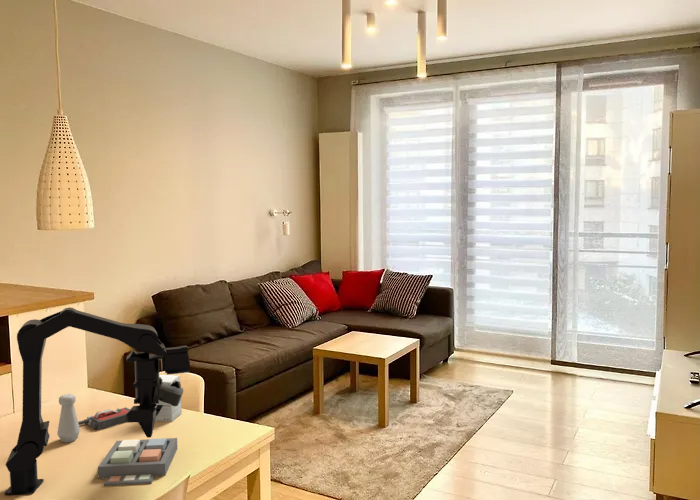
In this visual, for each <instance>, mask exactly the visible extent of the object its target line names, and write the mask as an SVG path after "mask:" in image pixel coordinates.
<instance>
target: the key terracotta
mask: <svg viewBox="0 0 700 500" xmlns="http://www.w3.org/2000/svg"><path fill="white" fill-rule="evenodd" d="M160 458H161V449H149V450H143V452H142V453H141V455H140V457H139V462H155V461H159V460H160Z"/></svg>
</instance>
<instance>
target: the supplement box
mask: <svg viewBox="0 0 700 500" xmlns="http://www.w3.org/2000/svg"><path fill="white" fill-rule="evenodd" d="M159 377H161V379H162V383H163V384H166V385H168V384H169V385H171V384H172V383H173V382H174V381H175V380H176V381H179V382H180V383H181V375H179V374H169V375H167V374H159ZM157 405H163V407H162V409H161V410H160V412H159V414H158V415H157V416H156V418H155V422H156V421H157V422H173V421H174V420H176V419H177V418H178V417H179V416H181V415H182V399H181V400H180V402H179V404H178V406H172V405H171V404H168V403H165V402H162V401H160V400H159V404H157Z"/></svg>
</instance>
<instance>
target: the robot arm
mask: <svg viewBox="0 0 700 500" xmlns="http://www.w3.org/2000/svg"><path fill="white" fill-rule="evenodd" d="M67 328H74V329H78V330H82V331H84V332H85V331H86V332H88V333H92V334H96V335H98V336H99V335H100V336H103V337H107V338H110V339H113V340H117V341H119V342H121V343H123V344H124V345H127V346H128V347H130V348H132V350H131V352H130V353H129V354H127V356H126V362H127V363H130V362H131V363H132V362H134V377H135V379H134V382H133V384H132V386H133V388H135V398H134V400H133V406H132V407H130V408H129V409H130V410H129V411H128V413H127V414H126V422H125V423H138V424H139V426H140V428H141V429H142V431H143V433H144V435H145V436H146V438H149V439H150V438H152V436H153V433H154V427H155V423H156V421H155V418H156V416H157V415H158V414H159V412H160V410H161V409H162V407H163V405H157V404H159V400H160V401H162V402H165V403H168V404H171V405H172V406H178V404H179V402H180V400H181V401H182V397H183V394H184V391H185V390H184V388H183V387H182V385H181V381H180V382H179V381H176V380H175V381H174V382H173V383H172V384H171V385H169V384H168V385H166V384H163V383H162V379H161V377H159V375H160V367H161V371H162V372H164V373H166V374H165V375H179V374H186V373H190V371H191V361H190V359H189V347H188V345H181V346H175V347H166V346H165V344H164V343H162V342H161V340H160V339H159V335H158V332H157V330H156V329H155V327H153V326H151V325H149V324H141V323H125V322H119V321H117V320H112V319H109V318H106V317H102V316H99V315H94V314H91V313H90V312H89V313H88V312H84V311H81V310H79V309H75V308H73V307H65V308H63V309H62V310H60V311H58V312H55V313H53V314H50V315H48V316H46V317H45V316H44V317H43V318H41V319H37V318H36V319H30V320H27V321H26V322H25V323H24V324H22V326H21V327H20V328H19V330H18V332H17V333H16V340H17V345H18V352H19V355H20V357H21V361H22V413H21V414H22V416H21V417H22V419H21V420H22V421H21V425H20V429H19V433H18V437H17V442H16V445H15V446H14V447H13V448H11V450H10V452H9V455H8V458H7V460H6V462H5V467H6V469H7V470H8V472H9V482H10V483H9V484H10V486H9V487H8V488H7V489H5V491H4V496H5V495H7V496H9V495H25V494H27V495H29V494H33V493H35V492H36V490H38V488H39V487H40V486H41V485H42V484H43V483H44V481H45V480H44V478H38V463H37V461H38V460H37V459H38V458H39V457H40V456H41V455H42V454H43V453H44V449H45V447H47V446H48V444H49V443H48V442H49V440H50V433H49V425H50V420H47V421H44V420H43V416H42V377H43V376H42V375H43V374H42V371H43V370H42V369H43V367H42V364H43V363H42V361H43V360H42V359H43V356H44V350H45V346H46V344H47V343H46V342H47V339H48V338H50V337H52V336H54V335H55V334H58V333H59V332H61V331H62V330H65V329H67ZM138 351H139V352H138ZM159 360H161V361H159ZM160 363H161V366H160Z"/></svg>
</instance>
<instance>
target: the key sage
mask: <svg viewBox="0 0 700 500" xmlns="http://www.w3.org/2000/svg"><path fill="white" fill-rule="evenodd" d="M132 459H133V450H128V451H115V452H114V454H113V455H112V457H111V458H110V464H115V463H131V461H132Z"/></svg>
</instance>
